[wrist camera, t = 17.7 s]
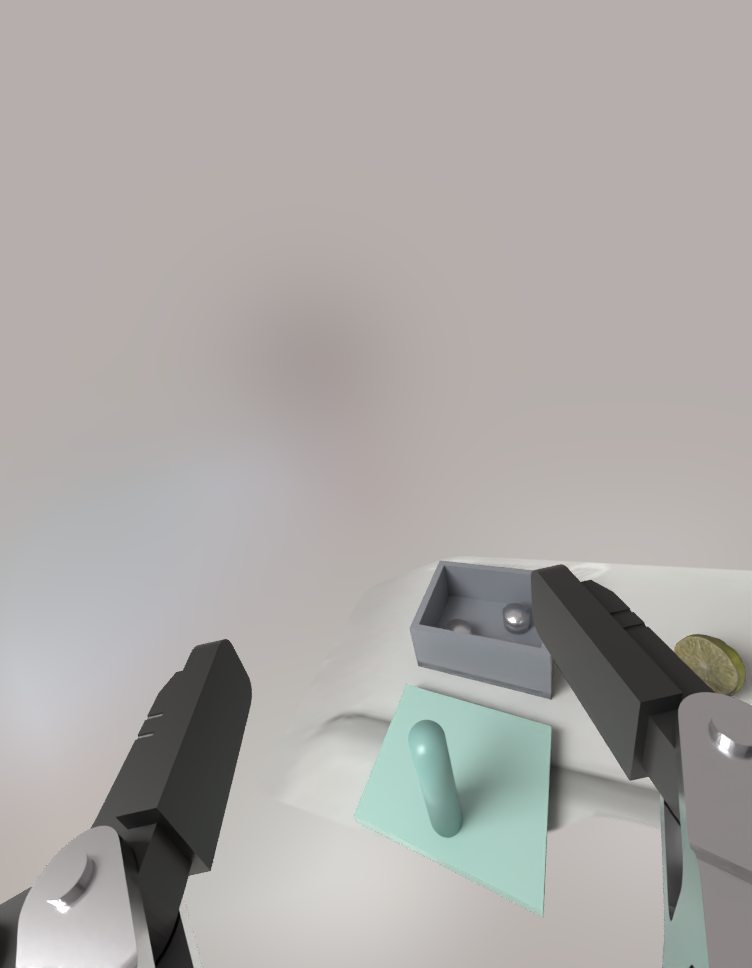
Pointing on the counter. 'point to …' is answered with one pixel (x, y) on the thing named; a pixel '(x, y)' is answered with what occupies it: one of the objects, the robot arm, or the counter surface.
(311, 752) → the counter surface
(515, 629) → the shiny rounded piece
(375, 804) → the lid
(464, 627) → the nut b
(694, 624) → the counter surface
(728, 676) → the lime
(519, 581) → the tub
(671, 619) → the counter surface
